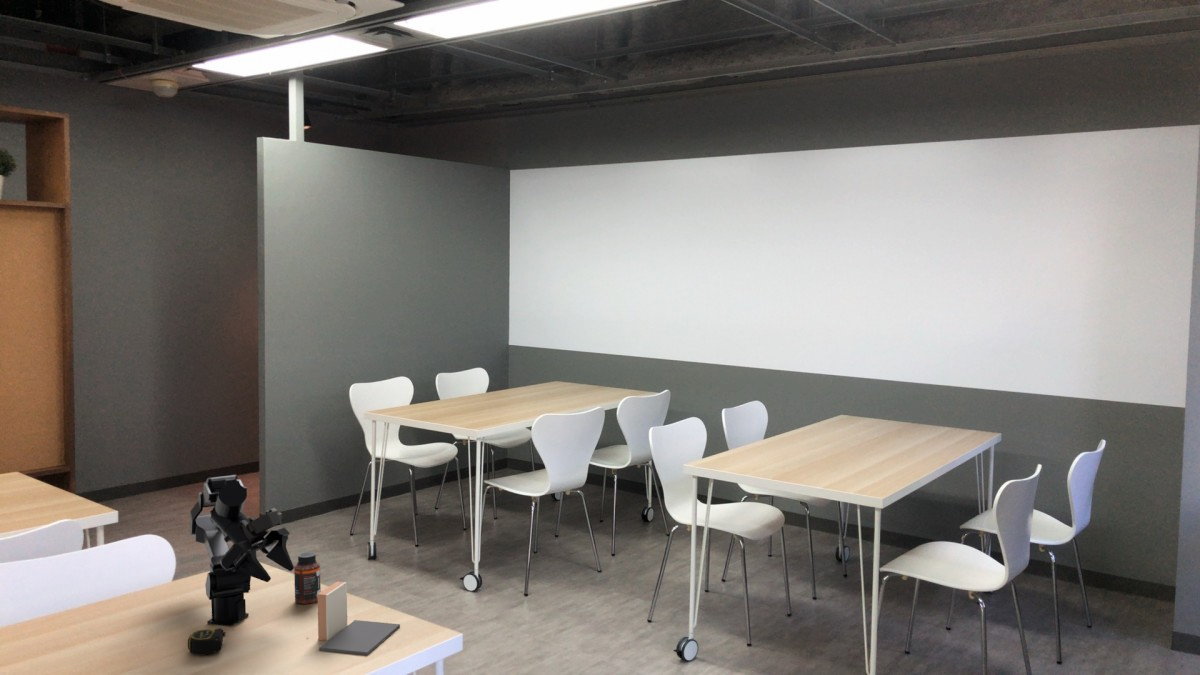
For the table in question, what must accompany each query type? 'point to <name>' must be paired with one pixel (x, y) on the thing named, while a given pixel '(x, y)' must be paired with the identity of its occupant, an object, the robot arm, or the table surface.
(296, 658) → the table surface
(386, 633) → the mat
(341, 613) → the tile
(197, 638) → the tape measure
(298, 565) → the supplement bottle
